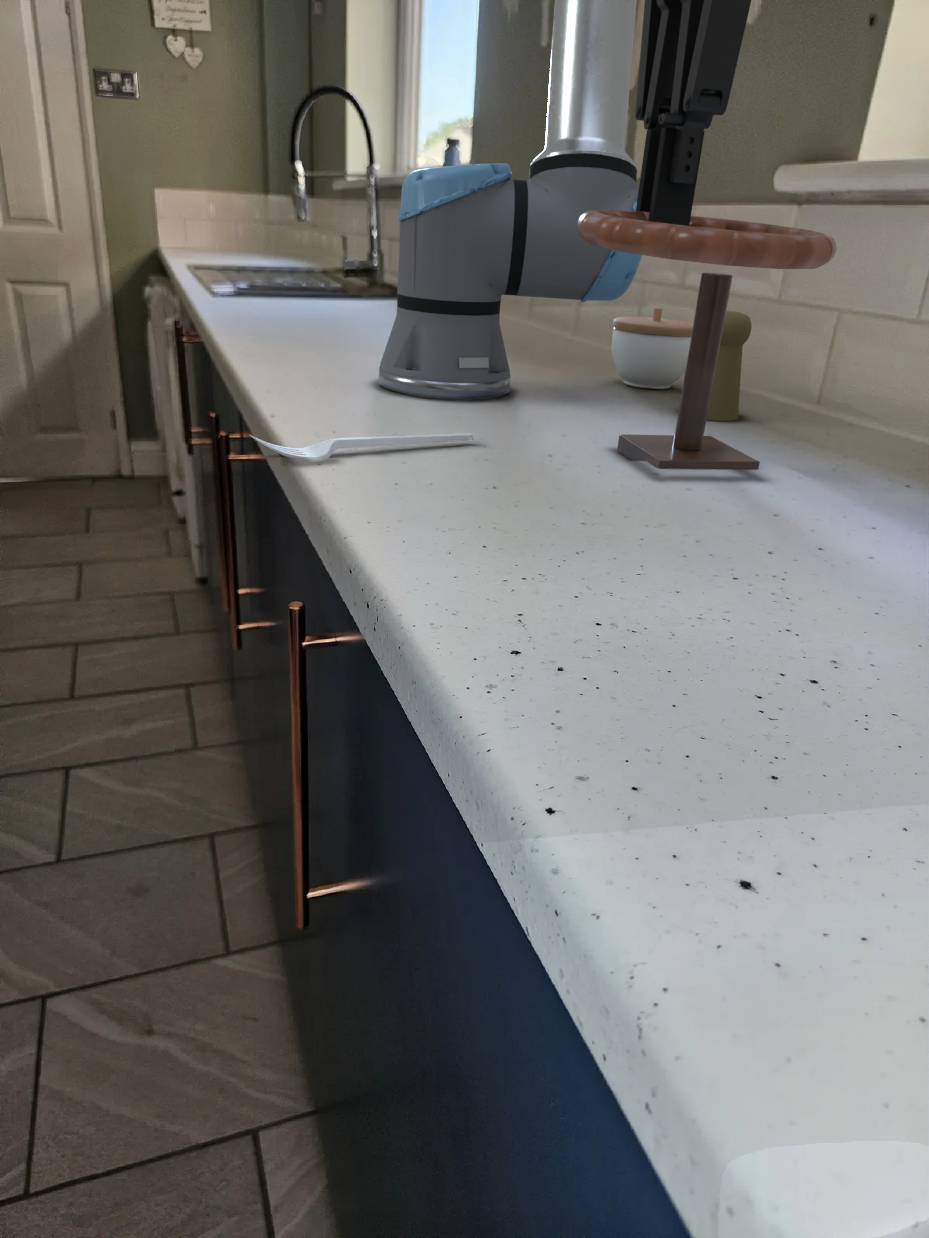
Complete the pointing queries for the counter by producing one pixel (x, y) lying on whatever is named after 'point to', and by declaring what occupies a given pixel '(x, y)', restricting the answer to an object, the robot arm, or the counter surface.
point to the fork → (361, 444)
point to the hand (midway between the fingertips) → (659, 236)
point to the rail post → (694, 396)
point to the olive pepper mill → (729, 368)
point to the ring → (708, 240)
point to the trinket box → (650, 350)
